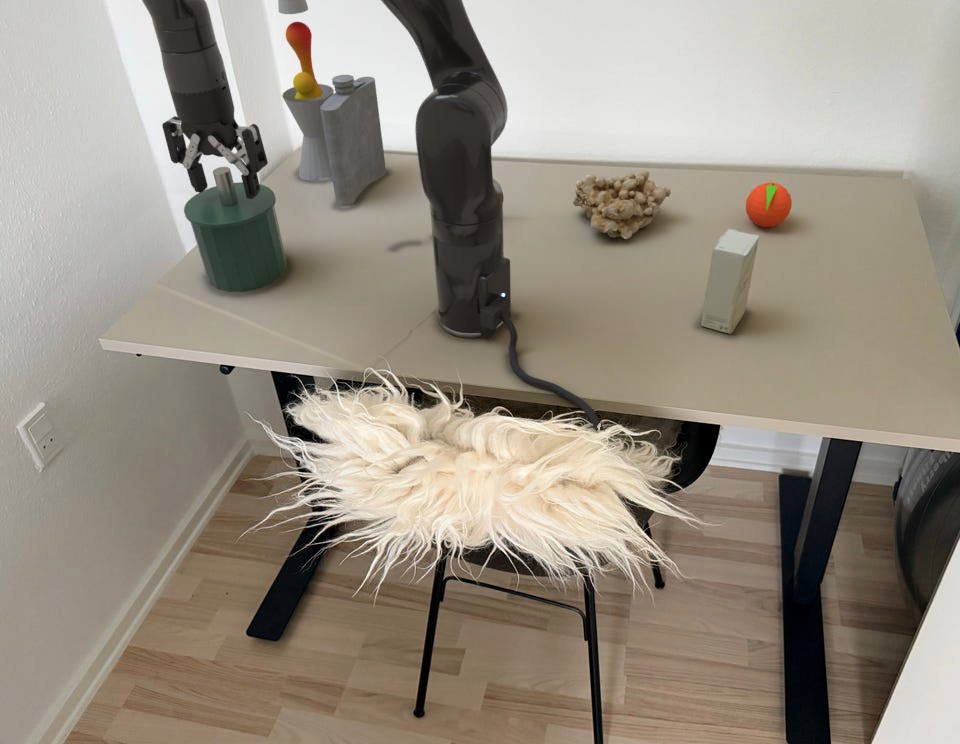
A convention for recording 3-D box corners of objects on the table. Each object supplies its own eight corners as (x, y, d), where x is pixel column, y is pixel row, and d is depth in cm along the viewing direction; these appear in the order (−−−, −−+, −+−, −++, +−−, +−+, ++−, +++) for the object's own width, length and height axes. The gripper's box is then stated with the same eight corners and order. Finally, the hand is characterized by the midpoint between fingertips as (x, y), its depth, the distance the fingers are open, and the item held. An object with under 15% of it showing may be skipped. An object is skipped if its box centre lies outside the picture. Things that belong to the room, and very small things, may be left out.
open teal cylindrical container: (303, 264, 125) (289, 198, 117) (247, 303, 117) (228, 234, 110) (249, 245, 130) (232, 180, 123) (191, 281, 122) (170, 214, 115)
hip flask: (349, 209, 138) (331, 95, 126) (329, 206, 139) (309, 93, 127) (389, 171, 150) (376, 62, 137) (369, 168, 151) (355, 60, 138)
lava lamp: (305, 161, 154) (267, -37, 132) (350, 161, 154) (320, -38, 131) (292, 181, 148) (250, -24, 125) (339, 182, 147) (306, -25, 124)
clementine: (783, 241, 125) (793, 199, 120) (738, 234, 127) (746, 193, 122) (788, 217, 130) (798, 177, 126) (745, 211, 132) (752, 171, 128)
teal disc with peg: (295, 201, 118) (287, 162, 114) (230, 240, 110) (219, 199, 106) (233, 182, 124) (223, 144, 120) (167, 218, 115) (154, 178, 111)
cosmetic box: (730, 335, 106) (746, 257, 99) (698, 326, 108) (711, 248, 101) (745, 311, 110) (761, 234, 103) (714, 303, 112) (727, 226, 105)
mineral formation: (567, 209, 135) (649, 191, 137) (596, 259, 126) (683, 238, 129) (568, 170, 129) (654, 150, 131) (599, 219, 120) (690, 198, 122)
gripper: (134, 86, 104) (170, 199, 114) (229, 94, 100) (257, 210, 110) (168, 67, 109) (199, 177, 119) (259, 74, 105) (283, 186, 116)
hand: (227, 193), depth 115 cm, fingers open, 8 cm apart
